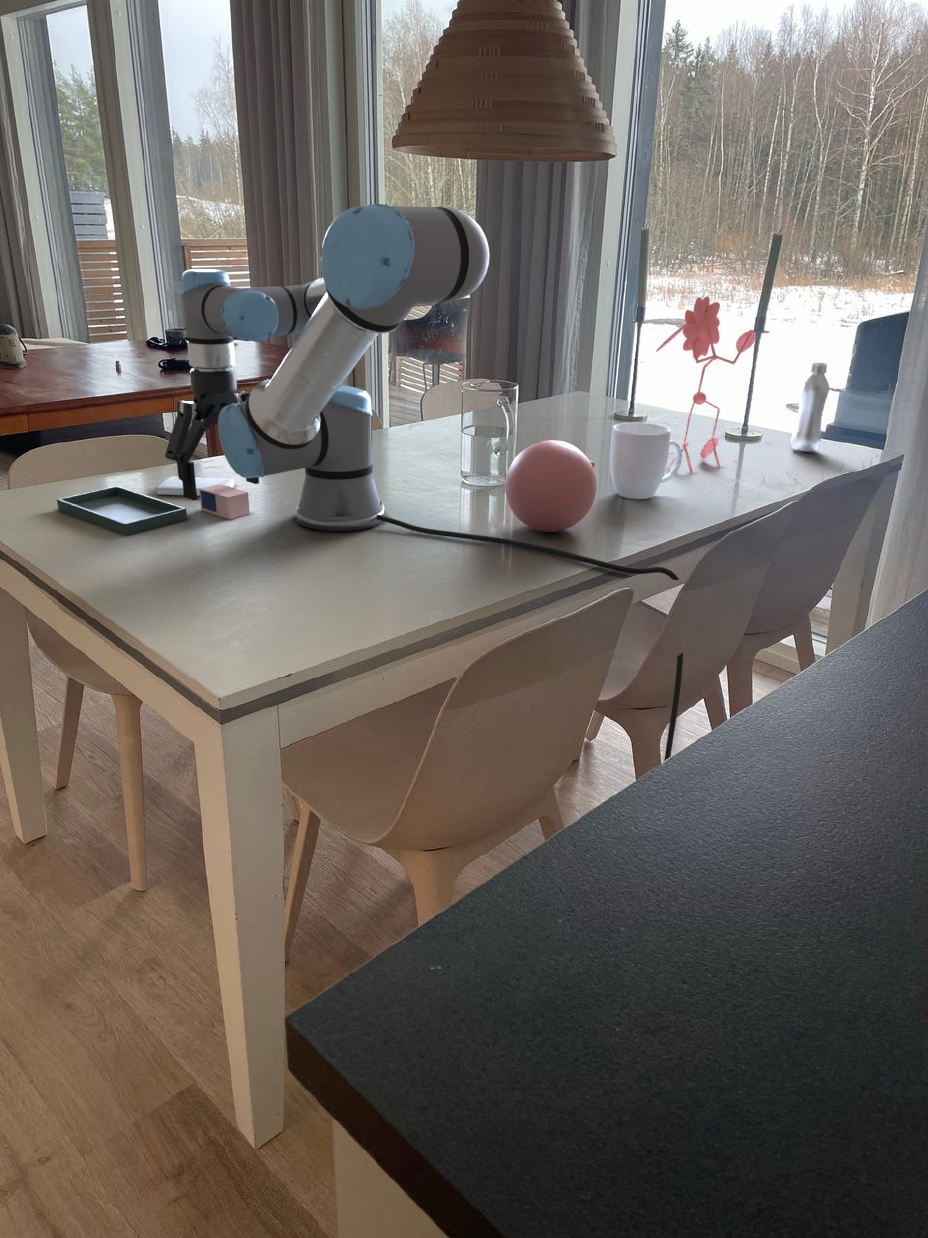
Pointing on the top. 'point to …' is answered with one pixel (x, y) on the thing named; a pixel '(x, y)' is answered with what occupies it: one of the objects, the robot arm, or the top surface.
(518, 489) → the balloon
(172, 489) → the hard drive
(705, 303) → the figurine
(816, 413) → the plastic bottle
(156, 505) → the tray
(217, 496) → the eraser
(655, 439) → the mug
